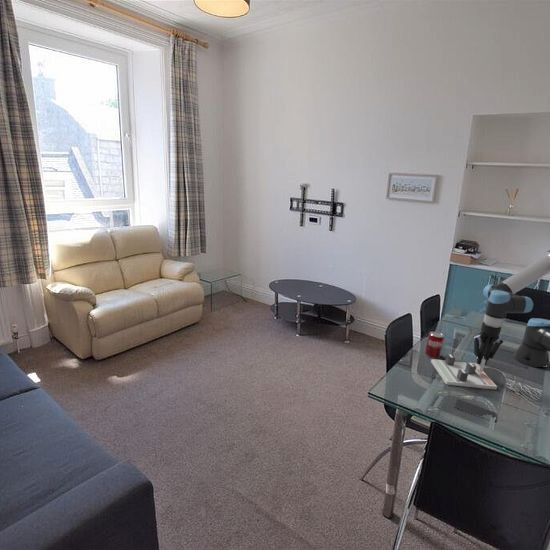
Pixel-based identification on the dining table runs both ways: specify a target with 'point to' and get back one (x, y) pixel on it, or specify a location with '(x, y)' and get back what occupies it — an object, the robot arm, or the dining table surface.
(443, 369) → the panel
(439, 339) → the soda can
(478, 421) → the dining table surface
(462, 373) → the block
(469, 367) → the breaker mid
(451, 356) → the block
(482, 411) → the smartphone
